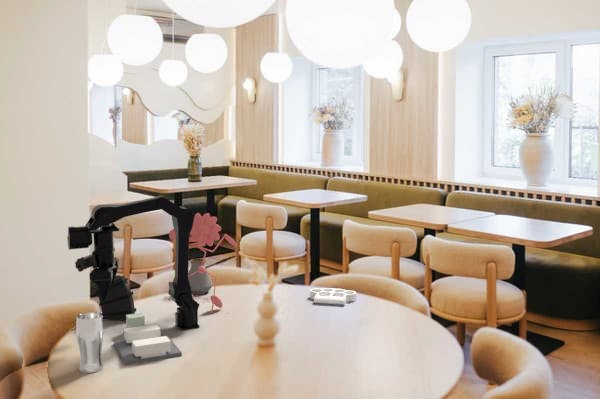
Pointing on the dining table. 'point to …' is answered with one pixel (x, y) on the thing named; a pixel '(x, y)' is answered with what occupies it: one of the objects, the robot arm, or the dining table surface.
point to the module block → (135, 320)
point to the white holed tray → (332, 296)
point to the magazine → (117, 301)
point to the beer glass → (90, 341)
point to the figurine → (202, 234)
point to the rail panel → (134, 359)
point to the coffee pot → (201, 276)
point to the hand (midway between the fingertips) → (106, 295)
